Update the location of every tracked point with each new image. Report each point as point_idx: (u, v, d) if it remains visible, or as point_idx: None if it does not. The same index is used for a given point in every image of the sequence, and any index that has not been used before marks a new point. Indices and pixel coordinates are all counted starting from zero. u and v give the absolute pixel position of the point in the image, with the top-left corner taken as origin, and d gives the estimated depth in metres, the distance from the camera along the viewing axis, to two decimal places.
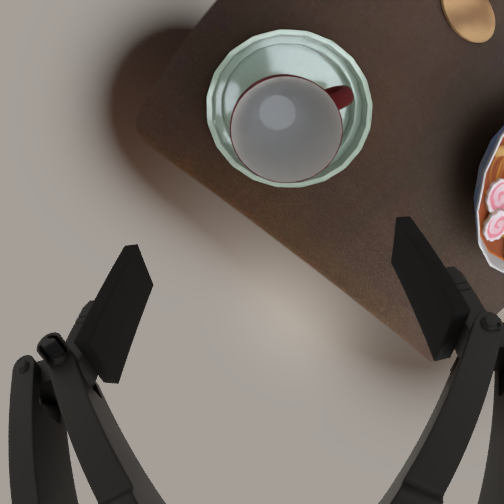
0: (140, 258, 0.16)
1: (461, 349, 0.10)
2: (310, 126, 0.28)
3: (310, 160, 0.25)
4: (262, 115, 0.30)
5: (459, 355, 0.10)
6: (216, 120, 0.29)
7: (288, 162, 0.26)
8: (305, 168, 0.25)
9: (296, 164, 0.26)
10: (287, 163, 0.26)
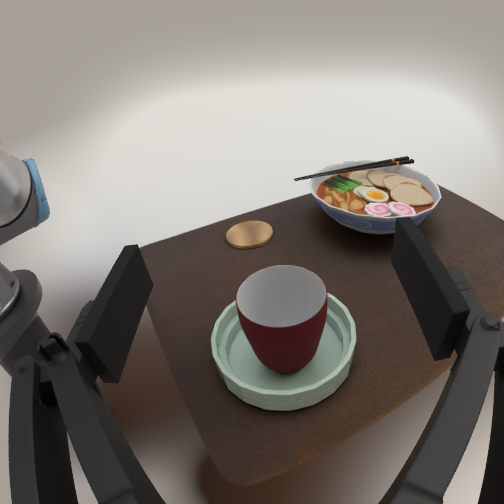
0: (140, 258, 0.16)
1: (461, 349, 0.10)
2: None
3: (321, 304, 0.30)
4: None
5: (459, 355, 0.10)
6: None
7: None
8: (323, 302, 0.29)
9: None
10: None
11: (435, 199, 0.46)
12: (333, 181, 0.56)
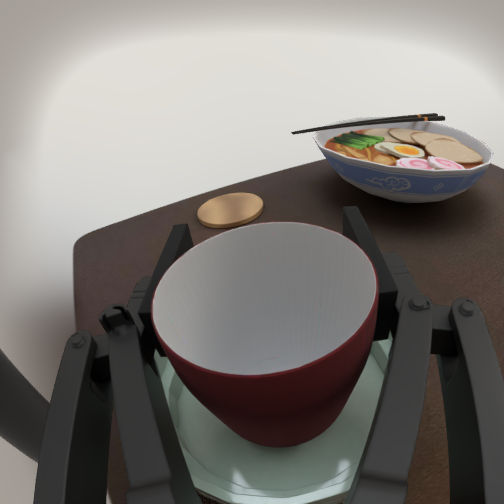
0: (189, 237, 0.17)
1: (394, 334, 0.11)
2: (314, 345, 0.17)
3: (356, 305, 0.13)
4: None
5: (393, 340, 0.11)
6: None
7: None
8: (364, 300, 0.12)
9: None
10: None
11: (485, 157, 0.30)
12: (345, 138, 0.40)
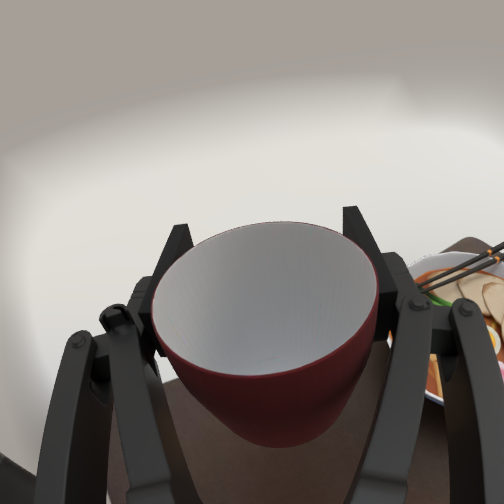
0: (189, 237, 0.17)
1: (394, 334, 0.11)
2: (314, 345, 0.17)
3: (356, 306, 0.13)
4: None
5: (393, 340, 0.11)
6: None
7: None
8: (364, 300, 0.12)
9: None
10: None
11: None
12: None
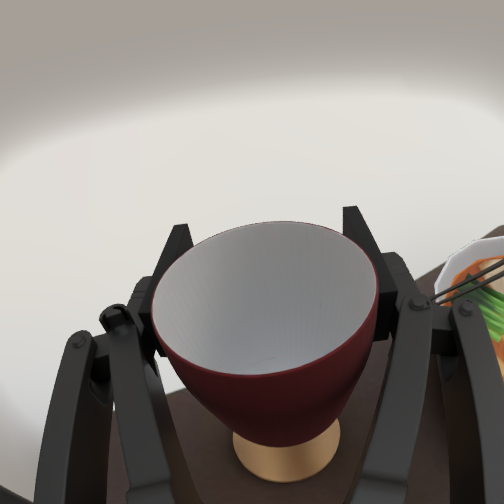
0: (189, 237, 0.17)
1: (394, 334, 0.11)
2: (314, 345, 0.17)
3: (356, 306, 0.13)
4: None
5: (393, 340, 0.11)
6: None
7: None
8: (364, 300, 0.12)
9: None
10: None
11: None
12: None
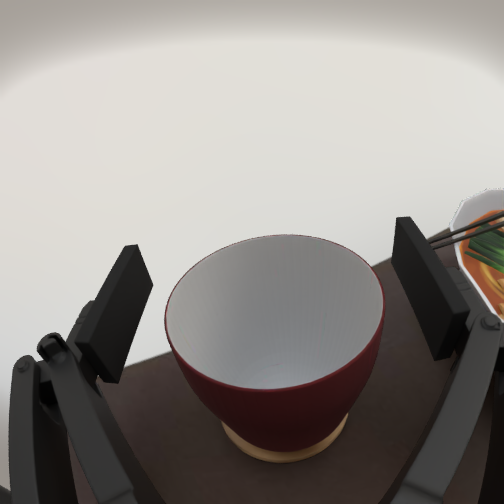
0: (140, 258, 0.16)
1: (461, 349, 0.10)
2: (317, 353, 0.17)
3: (361, 318, 0.13)
4: None
5: (459, 355, 0.10)
6: None
7: None
8: (369, 314, 0.12)
9: (366, 344, 0.13)
10: None
11: None
12: (486, 244, 0.19)
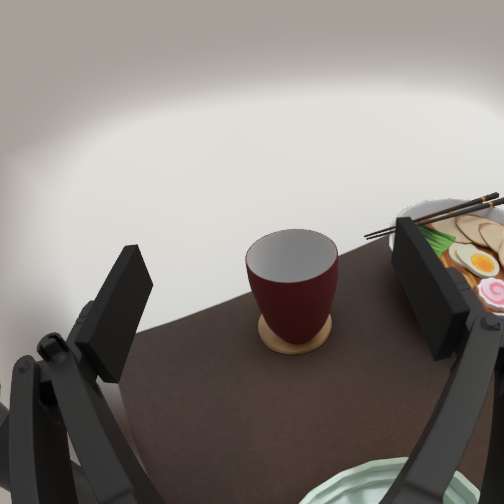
0: (140, 258, 0.16)
1: (461, 349, 0.10)
2: None
3: None
4: None
5: (459, 355, 0.10)
6: None
7: None
8: None
9: None
10: None
11: None
12: None
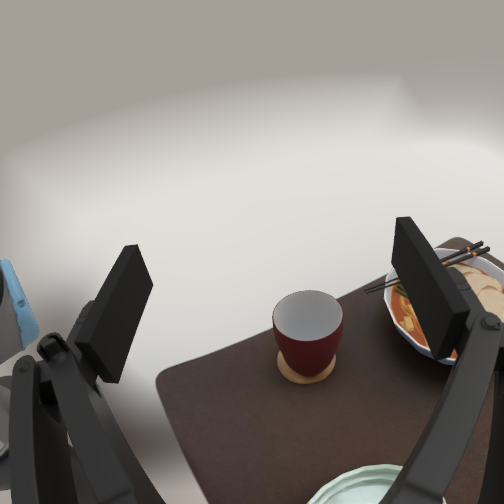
0: (140, 258, 0.16)
1: (461, 349, 0.10)
2: (321, 335, 0.41)
3: (337, 321, 0.37)
4: None
5: (459, 355, 0.10)
6: None
7: None
8: (339, 320, 0.36)
9: None
10: None
11: None
12: None
